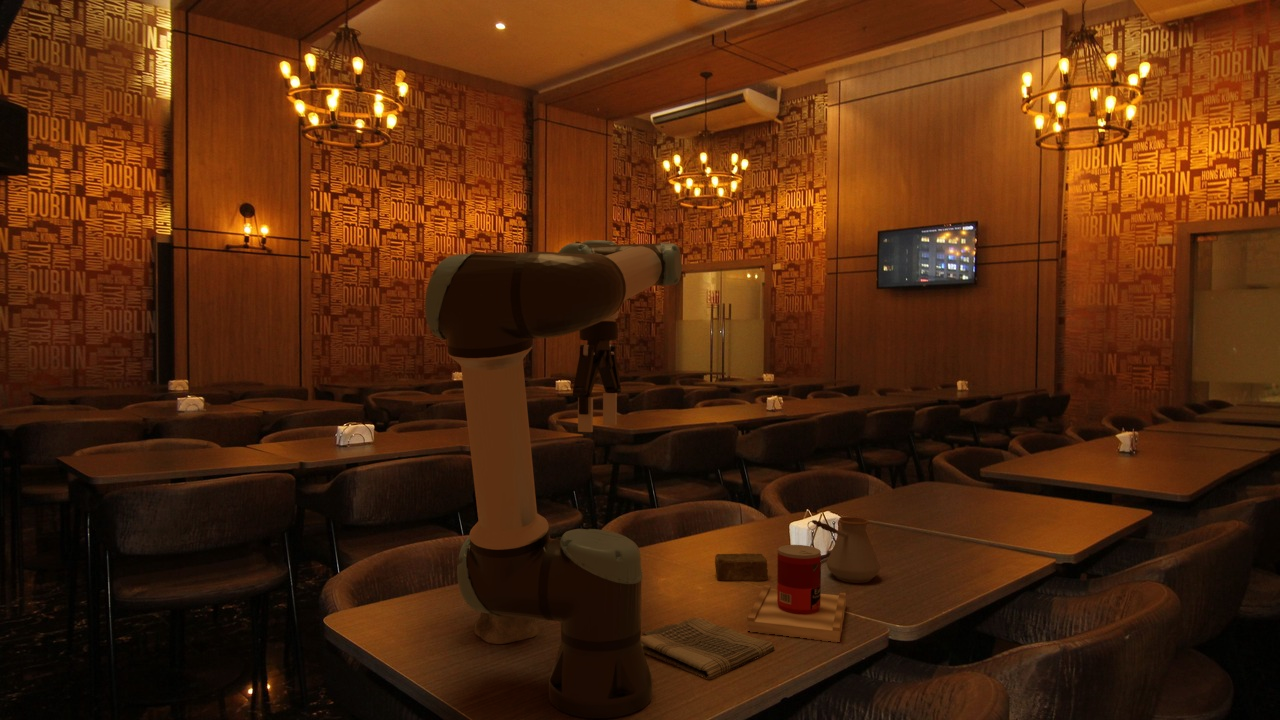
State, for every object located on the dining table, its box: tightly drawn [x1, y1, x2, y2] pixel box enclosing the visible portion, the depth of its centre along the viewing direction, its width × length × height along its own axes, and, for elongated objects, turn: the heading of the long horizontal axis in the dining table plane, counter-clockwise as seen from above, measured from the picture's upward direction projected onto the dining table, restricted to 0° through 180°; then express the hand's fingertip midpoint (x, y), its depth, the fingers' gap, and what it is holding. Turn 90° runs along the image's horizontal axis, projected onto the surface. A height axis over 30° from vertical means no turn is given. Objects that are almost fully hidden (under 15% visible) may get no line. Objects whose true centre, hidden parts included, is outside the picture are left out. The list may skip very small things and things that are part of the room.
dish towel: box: [641, 617, 775, 680], centre depth 132 cm, size 19×18×3 cm
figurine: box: [474, 612, 539, 645], centre depth 139 cm, size 10×14×25 cm
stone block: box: [714, 553, 769, 582], centre depth 173 cm, size 6×12×5 cm, turn 92°
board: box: [746, 584, 847, 643], centre depth 147 cm, size 20×16×3 cm
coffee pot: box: [807, 516, 881, 584], centre depth 170 cm, size 21×12×15 cm, turn 131°
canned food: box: [776, 544, 822, 614], centre depth 147 cm, size 8×8×11 cm
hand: (598, 428), depth 154 cm, fingers open, 13 cm apart
